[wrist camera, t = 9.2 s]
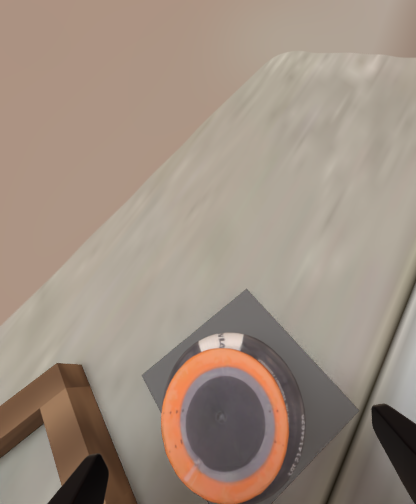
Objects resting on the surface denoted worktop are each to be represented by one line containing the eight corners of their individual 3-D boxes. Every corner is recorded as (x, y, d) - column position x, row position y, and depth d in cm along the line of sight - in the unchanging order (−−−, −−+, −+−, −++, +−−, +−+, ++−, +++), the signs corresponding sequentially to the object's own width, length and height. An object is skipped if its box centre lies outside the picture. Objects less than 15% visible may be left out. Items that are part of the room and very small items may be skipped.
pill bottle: (208, 342, 19) (159, 304, 9) (285, 357, 18) (326, 331, 8) (192, 432, 16) (99, 516, 6) (280, 458, 15) (333, 613, 5)
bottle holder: (145, 524, 15) (123, 555, 13) (-29, 691, 13) (-98, 768, 11) (81, 364, 21) (57, 363, 18) (-50, 465, 19) (-99, 480, 16)
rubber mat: (352, 408, 16) (359, 410, 15) (232, 534, 15) (231, 546, 14) (246, 293, 22) (246, 288, 20) (147, 375, 20) (141, 375, 19)
